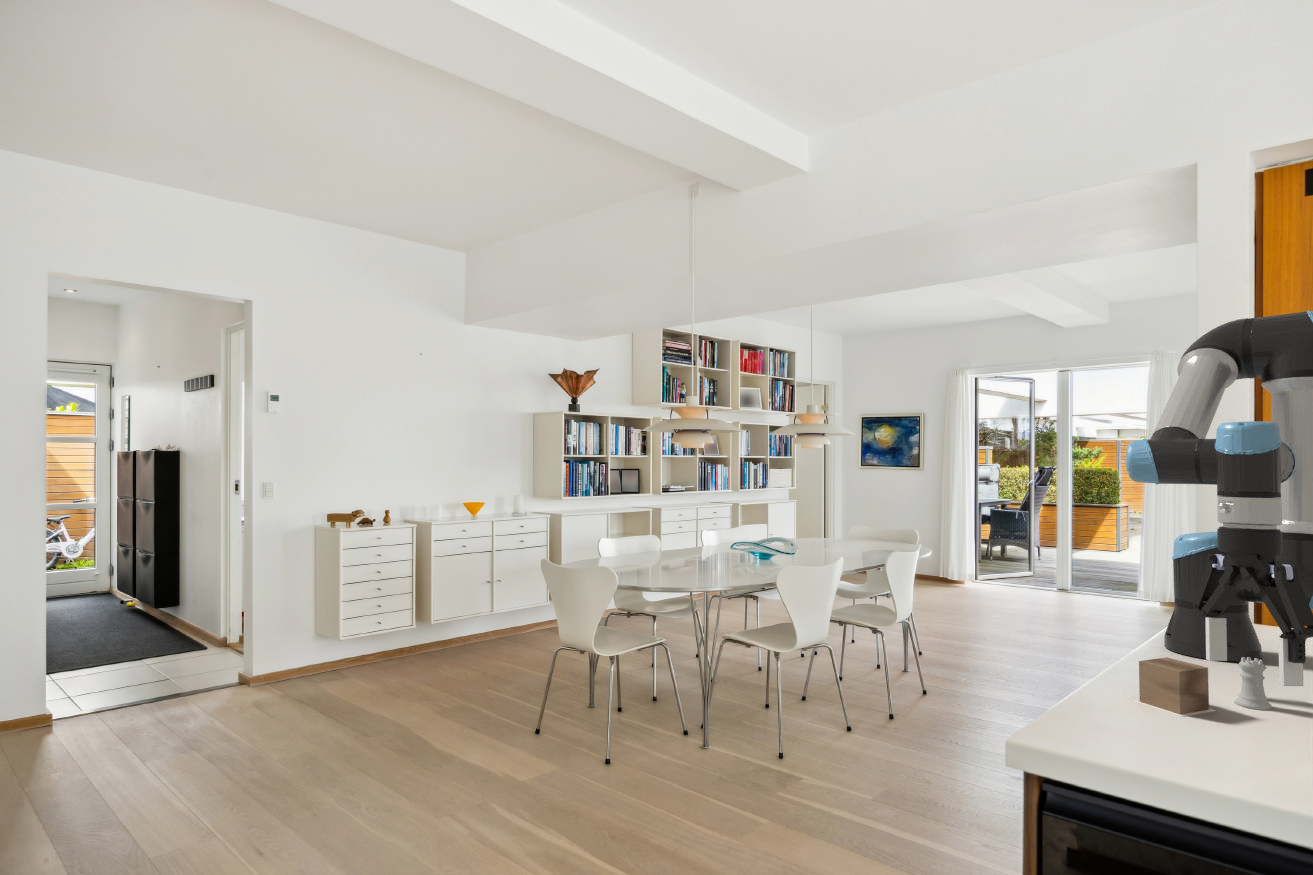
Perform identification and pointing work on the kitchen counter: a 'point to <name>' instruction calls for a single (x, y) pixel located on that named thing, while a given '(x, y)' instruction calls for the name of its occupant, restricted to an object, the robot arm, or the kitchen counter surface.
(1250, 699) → the rook chess piece
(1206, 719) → the kitchen counter surface
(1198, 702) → the walnut cube
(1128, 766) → the kitchen counter surface
